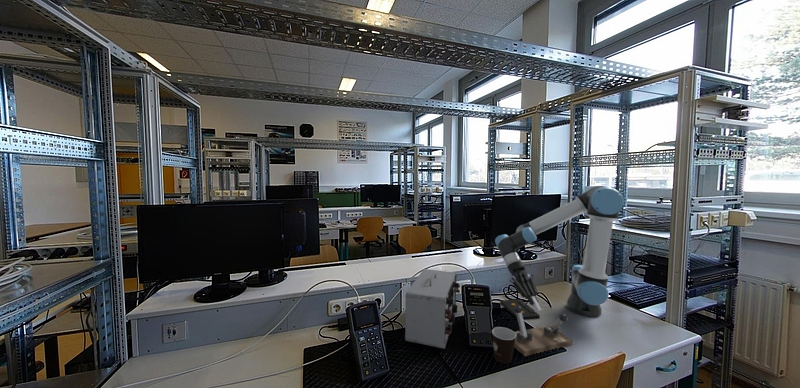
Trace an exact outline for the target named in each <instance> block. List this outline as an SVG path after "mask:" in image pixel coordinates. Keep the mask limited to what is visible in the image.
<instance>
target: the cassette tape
mask: <svg viewBox="0 0 800 388" xmlns="http://www.w3.org/2000/svg"><path fill="white" fill-rule="evenodd" d="M499 302H500V304H501V305H502V306H503V308H505V309H506V310H507V311H508V312H509V313H510V314H511V315H513V317H514V318H516V319H517V315H516V312H515V311H514V308H515V307H516V306H520V307H521V309H522V316H523V320H533V319H534V320H536V319H540V318H541V315H540V314H539V313H538V312H537V313H535V311H534V309H533V307H532V306H531V305H530V306H529V305H528V304H527V303H526V302H524V301H523V300H521V298H517V299H503V300H499Z"/></svg>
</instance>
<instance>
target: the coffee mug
mask: <svg viewBox="0 0 800 388" xmlns="http://www.w3.org/2000/svg"><path fill="white" fill-rule="evenodd" d="M490 329H491V336H492V346H493V348H492V349H493V358H494V360H495V361H497V362H499V363H500V364H505V365H509V364H511V363H512V361H513V357H514V356H513V355H514V349H515V348H514V345H515V339H516V334H515V333H514V332H515V331H514V330H512V329H510V328H508V327H502V326H495V327H494V326H492V327H491V328H490Z"/></svg>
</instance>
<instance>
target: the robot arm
mask: <svg viewBox="0 0 800 388" xmlns="http://www.w3.org/2000/svg"><path fill="white" fill-rule="evenodd" d="M624 203H625V199H624V196H623V195H622V193H621V192H620V191H619V190H618V189H616V188H614V187H610V186H607V185H606V186H604V185H597V186H594V187H592V188H589V189H588V190H586V191H585V192H583V193H580V194H579V195H577V196H575V199H574V200H572V201H570V202H568V203H565V204H563V205H562V206H559V207H557V208H555V209H553V210H551V211H549V212H547V213H545V214H543V215H542V216H541V215H540V216H539V217H537V218H535V219H533V220H531V221H528V222H527V223H524V224H521V225H519V226H518V227H516V230H515V233H513V234H511V235H508V234H505V233H504V234H501V235H498V236H496V237H495V240H494V243H495V245H496V248H497V249H498V251H499V253H500V255H501V258H502V259H503V261H504V264H505V266H507V270H508V272H509V273H510V274H511V278H509V280H508V281H509V282H510V283H512V285H513V286H514V288H515V289H516V290H517V292H518V293H519V294H520V296H521V297H522V298H524V299H525V300H528V303H529V305H530V306H531V308H532V309H533V310H534V311H535V313H537V314H538V313H539V312H541V311H542V308H541V306H540V304H539V300H538V298H537V297H536V296H537V294H538V293H539V292H538V289H537V286H536V283H535V281H534V275H533V274H530V273H528V271H527V270H526V269H525V268H526V267H525V265H524V264H523V261H522V259H521V258H520V255H519V254H518V252H517V250H519V249H521V248H522V247H525V246H527V245H529V244H531V243H532V244H533V242H535V241H537V239H538V237H537V235H539V234H540V233H543V232H546V231H547V230H549V229H552V228H554V227H556V226H558V225H560V224H563V223H564V222H567V221H570V220H571V219H573V218H576V217H577V216H580V215H582V214H586V215H587V216H588V217H589V225H588V231H587V238H586V245H585V249H584V250H585V252H584V258H583V263H582V264H574V265H573V266H572V269H571V272H572V274H571V287H570V289H571V292H570V294H569V296H568V298H567V301H566V308H567V309H568V310H569V311H570V312H572V313H574V314H577V315H579V316H580V315H581V316H584V317H588V318H589V317H590V318H598V317H601V316H602V306H601V305H602V304H604V303H606V301H608V298H609V290H608V288H607V287H608V280H609V276H608V274H606V268H607V262H608V254H609V248H610V242H611V236H612V231H613V225H614V224H613V223H614V222H615V221H616V220H618V219H619V215H620V214H619V213H620V211H621V210H622V208H623V206H624Z"/></svg>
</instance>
